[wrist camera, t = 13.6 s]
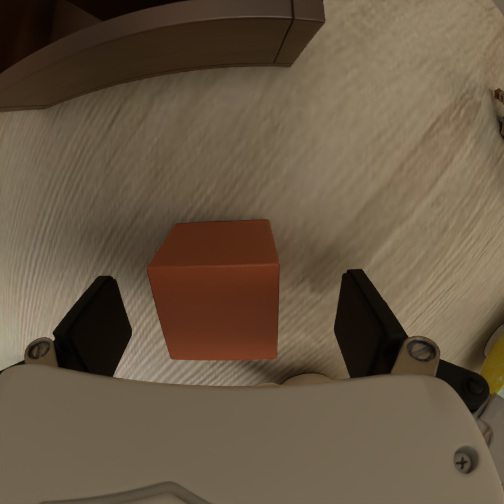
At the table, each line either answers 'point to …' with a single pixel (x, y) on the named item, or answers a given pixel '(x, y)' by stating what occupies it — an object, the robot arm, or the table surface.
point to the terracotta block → (218, 290)
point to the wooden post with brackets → (500, 95)
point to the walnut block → (116, 6)
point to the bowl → (495, 362)
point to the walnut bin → (140, 44)
